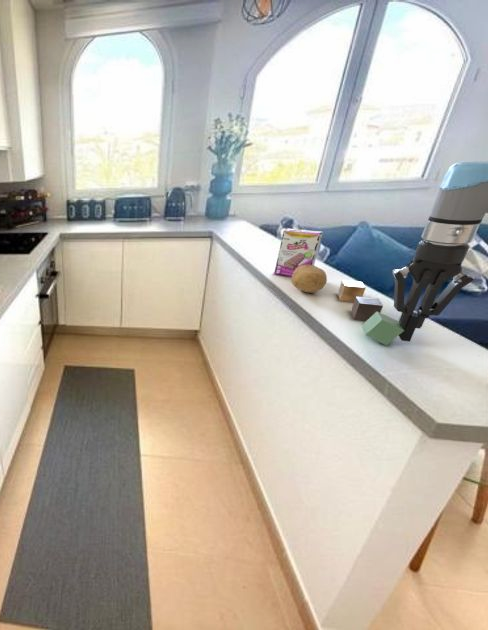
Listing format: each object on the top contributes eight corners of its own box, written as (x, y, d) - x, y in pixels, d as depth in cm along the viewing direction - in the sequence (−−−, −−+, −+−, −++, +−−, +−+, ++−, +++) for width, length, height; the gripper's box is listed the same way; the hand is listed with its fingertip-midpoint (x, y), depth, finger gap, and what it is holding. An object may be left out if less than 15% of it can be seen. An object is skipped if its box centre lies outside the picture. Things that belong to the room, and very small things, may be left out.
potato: (317, 283, 119) (323, 261, 115) (329, 299, 107) (336, 275, 103) (284, 281, 122) (289, 260, 118) (292, 297, 110) (298, 273, 107)
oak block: (357, 296, 107) (362, 281, 105) (360, 303, 103) (365, 287, 101) (337, 294, 109) (341, 280, 107) (340, 300, 105) (344, 285, 103)
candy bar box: (273, 274, 129) (282, 230, 121) (277, 270, 132) (286, 227, 124) (308, 280, 121) (320, 234, 114) (311, 276, 125) (323, 231, 117)
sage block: (381, 336, 87) (398, 321, 84) (386, 345, 83) (404, 330, 80) (360, 326, 88) (376, 311, 85) (365, 335, 84) (382, 319, 81)
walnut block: (372, 314, 96) (378, 298, 94) (376, 322, 93) (383, 305, 90) (350, 312, 99) (355, 296, 96) (353, 319, 95) (359, 303, 92)
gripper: (409, 244, 72) (373, 341, 82) (498, 248, 66) (447, 351, 77) (398, 236, 78) (366, 327, 88) (479, 239, 72) (434, 335, 83)
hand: (403, 338), depth 82 cm, fingers closed
